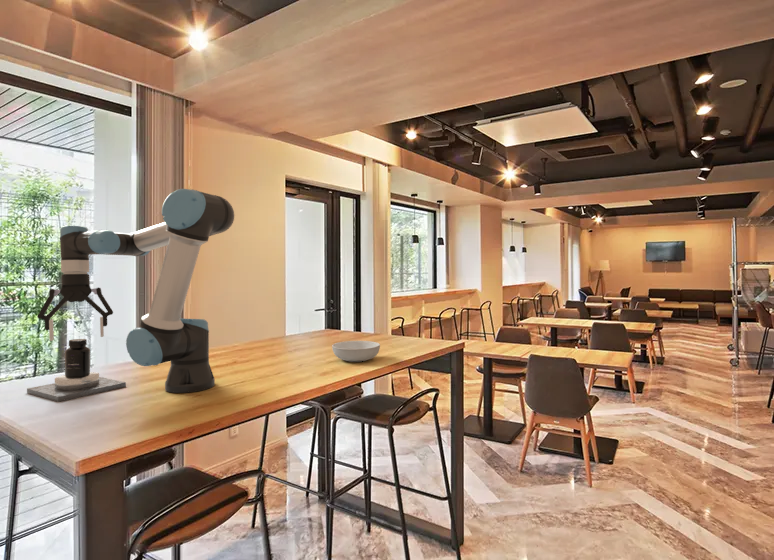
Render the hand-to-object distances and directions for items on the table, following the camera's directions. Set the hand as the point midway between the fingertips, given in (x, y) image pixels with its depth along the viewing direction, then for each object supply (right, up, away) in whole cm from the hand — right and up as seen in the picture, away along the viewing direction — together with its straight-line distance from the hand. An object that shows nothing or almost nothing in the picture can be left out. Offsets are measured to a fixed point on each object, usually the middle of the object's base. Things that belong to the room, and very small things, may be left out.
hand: (77, 338), depth 146 cm
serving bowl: (+88, -16, +48) cm, 101 cm away
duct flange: (0, -17, 0) cm, 17 cm away
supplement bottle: (0, -13, 0) cm, 13 cm away
